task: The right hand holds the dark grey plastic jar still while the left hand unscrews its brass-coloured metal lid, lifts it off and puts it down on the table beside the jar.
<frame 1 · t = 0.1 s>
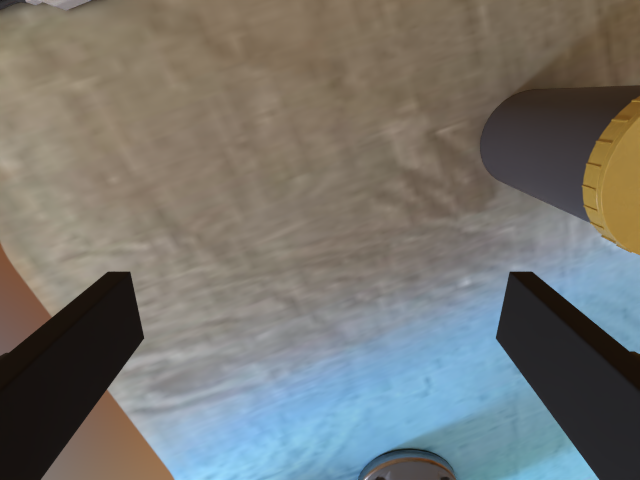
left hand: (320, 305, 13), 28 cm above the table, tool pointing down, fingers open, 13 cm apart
jar: (526, 139, 38), on the table
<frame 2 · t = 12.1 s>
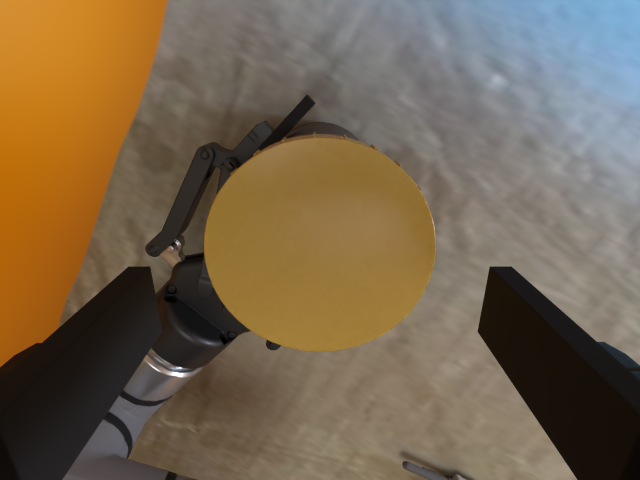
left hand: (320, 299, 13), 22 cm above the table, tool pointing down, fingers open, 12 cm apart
right hand: (362, 152, 27), fingers closed on jar, 10 cm apart
jar: (319, 176, 34), on the table, touching right hand
lid: (319, 254, 17), point 18 cm above the table, screwed on, not yet turned
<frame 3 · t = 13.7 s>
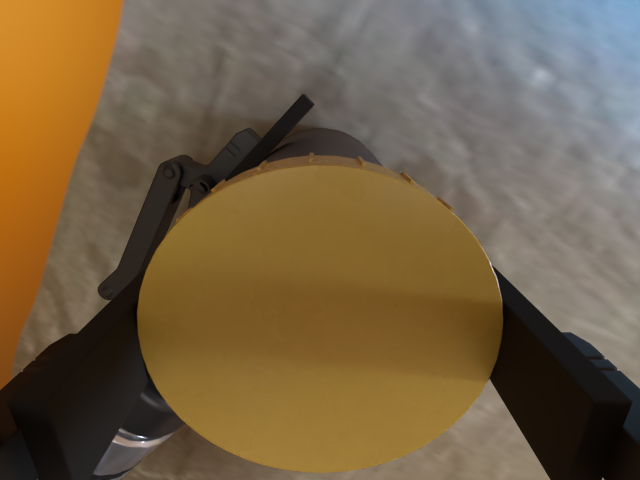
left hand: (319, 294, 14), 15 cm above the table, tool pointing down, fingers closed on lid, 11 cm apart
jar: (320, 193, 28), on the table, touching right hand
lid: (320, 339, 11), point 18 cm above the table, screwed on, not yet turned, touching left hand
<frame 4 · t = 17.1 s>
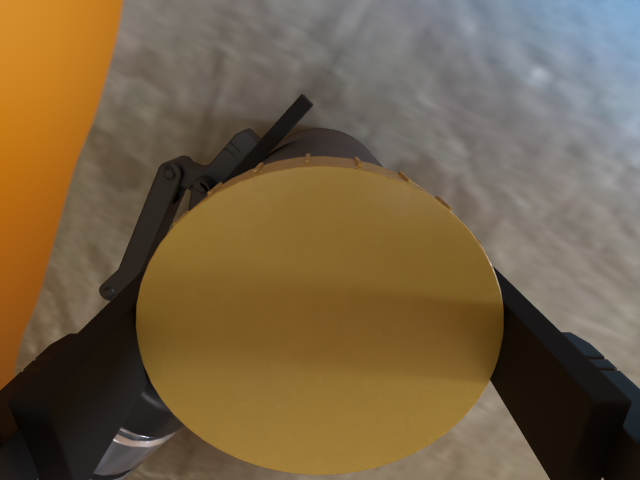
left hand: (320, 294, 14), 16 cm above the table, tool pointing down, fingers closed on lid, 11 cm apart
jar: (319, 193, 28), on the table, touching right hand
lid: (319, 341, 11), point 18 cm above the table, turned 101° so far, risen 0.2 cm, still on its thread, touching left hand
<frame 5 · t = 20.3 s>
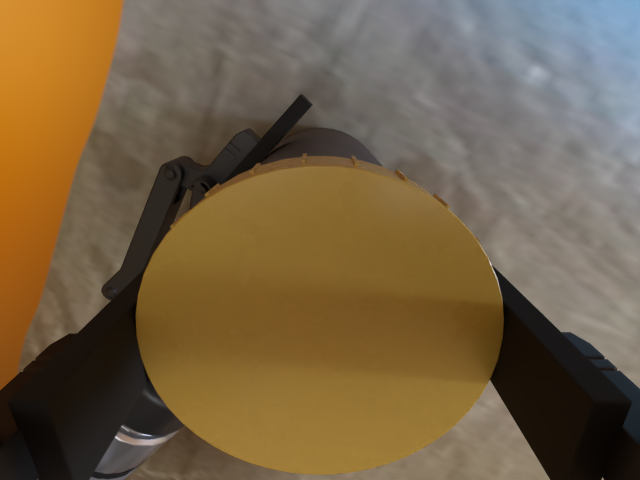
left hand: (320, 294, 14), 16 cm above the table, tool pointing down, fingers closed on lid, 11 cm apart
jar: (319, 192, 28), on the table, touching right hand
lid: (319, 341, 11), point 18 cm above the table, turned 203° so far, risen 0.3 cm, still on its thread, touching left hand
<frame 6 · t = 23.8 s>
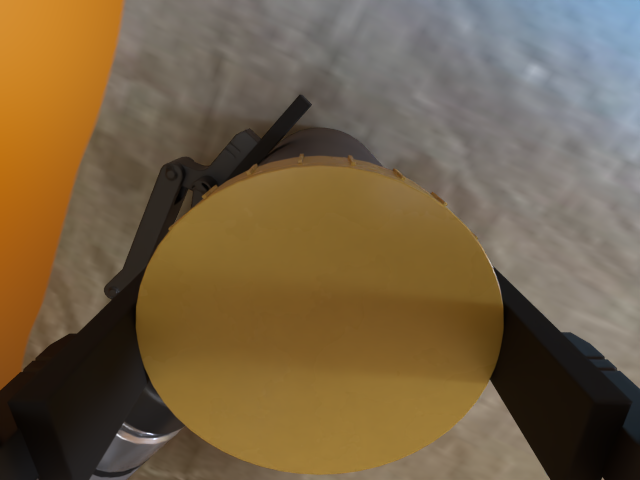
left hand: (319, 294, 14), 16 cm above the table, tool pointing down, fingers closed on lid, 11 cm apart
jar: (319, 192, 28), on the table, touching right hand
lid: (319, 340, 11), point 19 cm above the table, turned 304° so far, risen 0.5 cm, still on its thread, touching left hand
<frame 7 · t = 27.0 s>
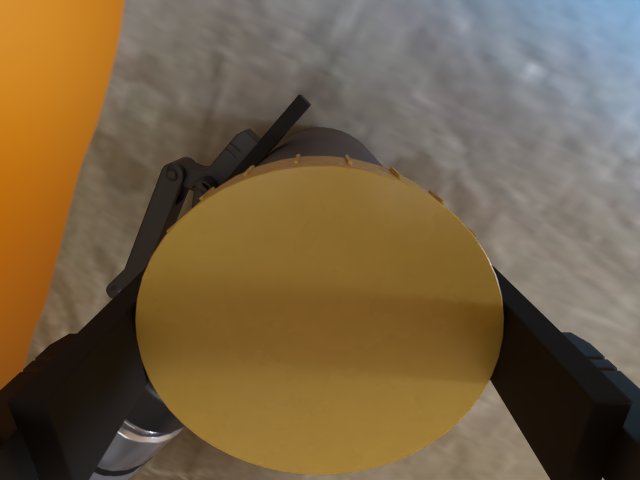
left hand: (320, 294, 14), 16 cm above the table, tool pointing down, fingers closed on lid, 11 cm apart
jar: (319, 191, 29), on the table, touching right hand
lid: (319, 341, 11), point 19 cm above the table, turned 405° so far, risen 0.7 cm, still on its thread, touching left hand
when the left hand's fingers open (0 cm above the table, at t = 34.7 s): lid drops 2 cm, point 1 cm above the table.
when the right hand's fingers open (7 cm above the table, at t = 35.7 s): jar stays where it is, on the table.
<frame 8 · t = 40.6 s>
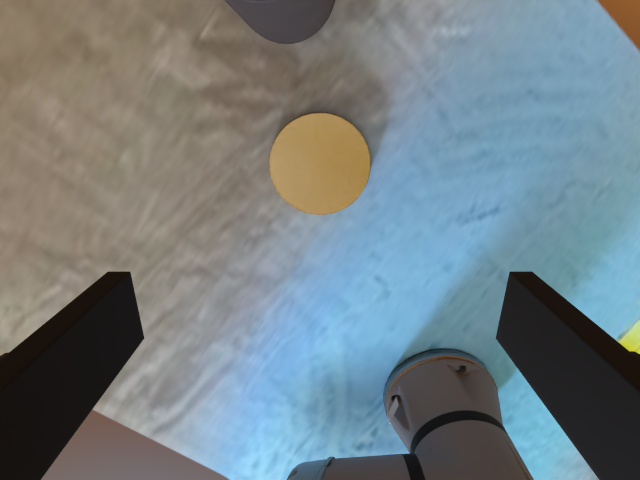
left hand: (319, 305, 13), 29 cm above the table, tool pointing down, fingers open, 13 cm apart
lid: (319, 165, 39), point 1 cm above the table, off its thread
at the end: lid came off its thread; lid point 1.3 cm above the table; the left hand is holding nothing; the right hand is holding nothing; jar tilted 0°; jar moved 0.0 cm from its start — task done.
